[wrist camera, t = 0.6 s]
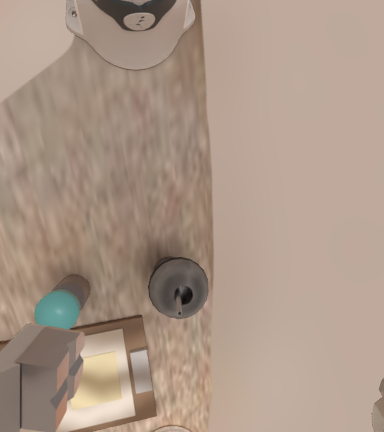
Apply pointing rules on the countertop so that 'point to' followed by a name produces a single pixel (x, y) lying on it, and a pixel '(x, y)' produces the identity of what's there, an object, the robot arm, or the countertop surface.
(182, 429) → the coaster
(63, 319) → the bottle
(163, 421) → the countertop surface
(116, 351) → the clipboard
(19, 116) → the countertop surface
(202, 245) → the countertop surface
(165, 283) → the beverage cup
